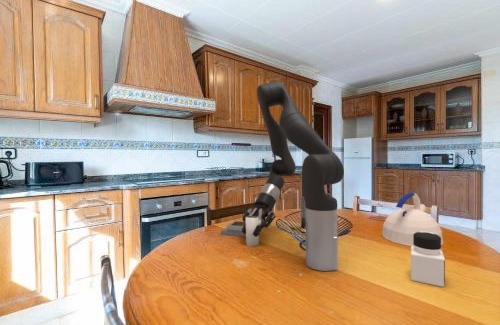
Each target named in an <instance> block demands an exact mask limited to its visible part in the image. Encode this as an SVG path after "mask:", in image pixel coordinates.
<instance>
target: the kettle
mask: <svg viewBox="0 0 500 325" xmlns="http://www.w3.org/2000/svg"><path fill="white" fill-rule="evenodd" d="M410 198H412V200H413V208H411V207H410V208H409V207H406V208H403V207H404V206H405V205H404V204H405V203H406V202H407V201H408V199H410ZM395 207H396V208H400V209H397V210H395V211H393V212H392V213H390V214H389V215H388V216H387V217H386V218H385V220H384V222H383V225H382V234H381V235H382V237H383V238H384V239H386V240H388V241H389V242H391V243H392V242H393V243H395V244H399V245H402V246H410V247H411V246H413V234H414V233H416V232H430V233H434V234H436V235H438V236H440V237H441V246H442V245H443V244H444V240H443V231H442V229H441V227H440V224H439V223H438V222H437V220H436V219H435V218H434V217H432V216H431V215H429V214H428V213H427V212H426V210H427V206H426V205H425V204H423V203H421V199H420V197H419V195H418V194H417V193H414V192H408V193H406V194H404V195H403V196H402V197H401V198H400V199H399V201H398V202H397V204H396V206H395Z"/></svg>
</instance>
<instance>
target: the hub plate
mask: <svg viewBox="0 0 500 325" xmlns="http://www.w3.org/2000/svg"><path fill="white" fill-rule="evenodd" d="M244 224H245V222H244V221H243V220H234V221H232V222H231V223H228V224H227V225H226V227H225V228H223V229H222V230H221V231H220V235H225V236H235V237H242V238H243V237H244V238H246V234H243V232H242V228H243V226H244Z"/></svg>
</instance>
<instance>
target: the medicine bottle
mask: <svg viewBox="0 0 500 325" xmlns="http://www.w3.org/2000/svg"><path fill="white" fill-rule="evenodd" d="M445 271H446V259H445V256H444V253H443V250H442V245H441V237H440V236H438V235H436V234H434V233H430V232H416V233H414V234H413V246H410V280H411V281H412V282H417V283H423V284H427V285H431V286H437V287H442V288H445V286H446V281H445V280H446V279H445V278H446V277H445V276H446V272H445Z"/></svg>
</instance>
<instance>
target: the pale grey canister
mask: <svg viewBox="0 0 500 325" xmlns="http://www.w3.org/2000/svg"><path fill="white" fill-rule="evenodd" d="M258 221H259V220H258V217H257V216H247V217H246V237H245V245H246V246H248V247H256V246H259V244H260V241H259V240H260V238H259V237H260V234H259V235H258V236H257V237H255V236H254V235H253V232H254V230H255V228H256V226H257V225H258Z"/></svg>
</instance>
